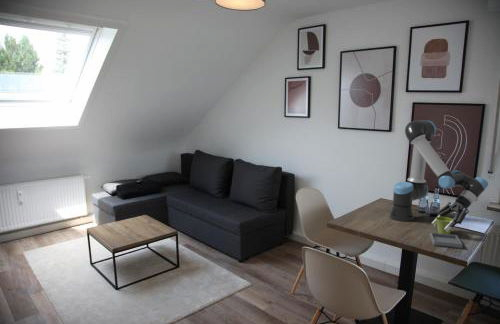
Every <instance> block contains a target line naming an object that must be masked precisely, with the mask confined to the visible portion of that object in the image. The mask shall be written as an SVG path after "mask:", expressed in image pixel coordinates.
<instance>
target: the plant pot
mask: <svg viewBox="0 0 500 324" xmlns="http://www.w3.org/2000/svg"><path fill="white" fill-rule="evenodd" d="M435 218H436V220H437V225H436V226H437V233H439V234H449V235H451V231H452V228H451V229H450V230H449V231H448V232H447V231H446V230H445V229H444V228H445V227H446V226H447V225H448V224H449V223H450V222H451V221H453V220H454V218H451V217H448V216H447V217H446V216H443V217H437V216H436V217H435Z"/></svg>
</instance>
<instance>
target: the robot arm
mask: <svg viewBox="0 0 500 324" xmlns="http://www.w3.org/2000/svg"><path fill="white" fill-rule="evenodd" d="M404 128H405V129H404V135H405V137H406V138H407V141H408V142H409V143H410V145H413V148H412V156H411V165H410V175H409V177H408V178H407V180H406V181H400V182H396V183H395V184H394V186H393V197H392V206H391V209H390V211H389V214H388V215H389V218H390V219H393V220H395V221H401V222H412V221H414V220H415V215H414V214H415V213H414V211H413V201H417V200H418V201H419V200H422V199H424V198H425V197H426V196H427V195H428V193H429V187H428V186H427V180H426V179H425V173H426V164H427V165H428V166H429V167H430V169H431V170H432V171H433V173H434V174H435V176H436V177H437V178H438V182H437V183H438V186H439V187H440V188H442V189H445V190H447V189H452V188H456V187H460V188H463V189H464V190H463V191H462V192H461V193H460V194H459V195H458V196H457V197H456V199H455V201H454V202H453V203H452V202H447V204H446V205H445V206H443V207H442V208H441V209H439V210H438V211H437V212H436V213H437V216H436V217H446V216H447V215H449V214H450V213H454V212H455V214H454V218H453V221H451V222H450V223H449V224H448V225H447V226H446V227H445V228H444V229H445V230H446V231H447V232H448V231H449V230H450V229H451V230H452V228H455V226H456V225H457V224H458V225H461V224H462V222H463V221H464V219H465V218H466V216H467V214H468V213H470V210H469V209H468V208H469V207H471V205H472V204H473V203H474V202H475V201H476V199H478V198H479V196H481V194H482V193H483V192H484V191H485V190H486V189H487V187H488V186H489V182H488V181H487V180H486V179H485V178H484V177H480V176H477V177H475V178H474V177H471V176H469V175H467V174H466V173H463V172H462V171H460V170H457V169H454V170H452V171H451V170H450V169H449V168H448V166H447V165H446V163H445V162H444V161H443V160H442V158H441V157H440V156H439V155H438V153H437V151H435V149H434V148H433V147H432V145H431V144H430V143H431V142H432V139H433V136H435V134H436V132H437V127H436V125H435V123H434V122H433V121H432V120H426V119H422V120H421V119H420V120H413V121H409V122H408V123H407V124H406V126H405V127H404ZM436 217H435V218H434V220H433V221H432V222H431V224H432V225H433V226H434V227H436V226H437V220H436Z"/></svg>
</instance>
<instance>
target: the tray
mask: <svg viewBox="0 0 500 324" xmlns="http://www.w3.org/2000/svg"><path fill="white" fill-rule="evenodd" d="M429 238H430V240H431V242H432V244H433V246H434V247H441V248H450V249H451V248H452V249H459V250H462V249H463V243H462V241H461V240H460V239H459V237H458V235H457V234H439V233H438V232H430V233H429Z"/></svg>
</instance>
